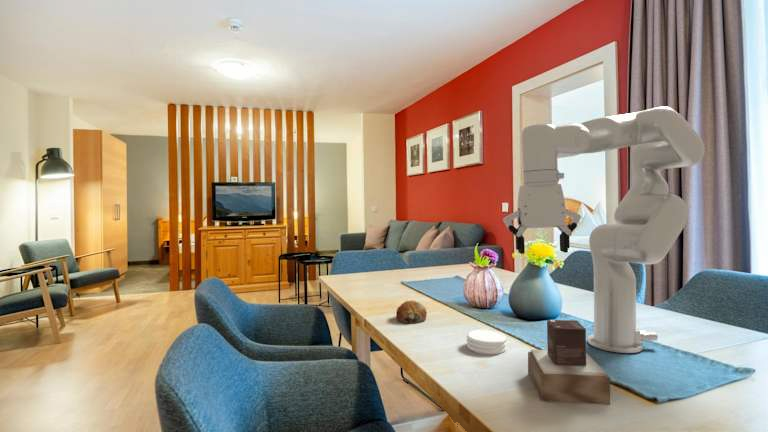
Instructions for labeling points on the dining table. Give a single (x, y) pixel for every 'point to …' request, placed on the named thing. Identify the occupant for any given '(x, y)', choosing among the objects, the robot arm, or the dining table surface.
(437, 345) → the dining table surface
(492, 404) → the dining table surface
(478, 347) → the coaster
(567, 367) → the plinth
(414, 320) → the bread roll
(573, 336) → the box
